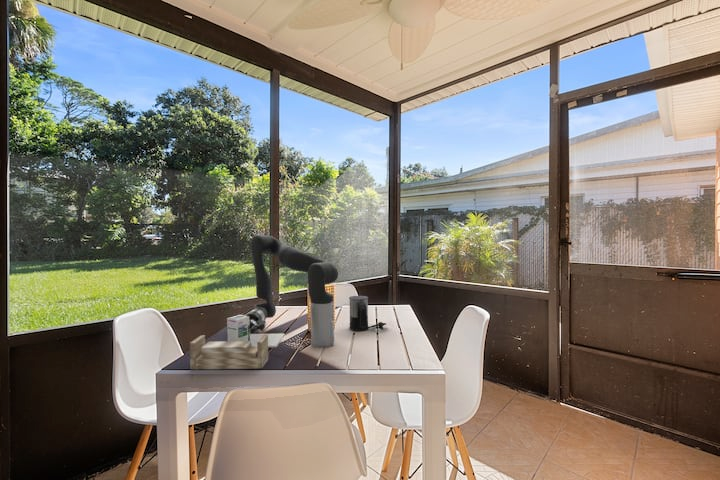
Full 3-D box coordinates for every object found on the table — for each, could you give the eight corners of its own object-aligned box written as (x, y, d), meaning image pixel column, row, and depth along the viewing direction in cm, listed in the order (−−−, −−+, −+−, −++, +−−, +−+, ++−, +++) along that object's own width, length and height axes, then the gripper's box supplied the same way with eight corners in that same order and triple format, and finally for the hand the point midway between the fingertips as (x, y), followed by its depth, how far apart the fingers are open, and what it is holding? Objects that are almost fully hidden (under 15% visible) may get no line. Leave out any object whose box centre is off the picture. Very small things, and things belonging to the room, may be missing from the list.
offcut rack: (268, 359, 121) (267, 334, 120) (262, 368, 113) (261, 342, 112) (201, 360, 120) (200, 335, 120) (190, 369, 112) (189, 342, 112)
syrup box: (237, 359, 121) (237, 319, 120) (227, 356, 124) (226, 317, 124) (250, 354, 126) (250, 315, 125) (240, 351, 129) (239, 313, 128)
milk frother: (345, 327, 159) (345, 296, 159) (372, 322, 168) (372, 293, 167) (361, 335, 147) (361, 302, 147) (390, 329, 156) (389, 297, 155)
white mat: (284, 334, 149) (284, 333, 149) (276, 347, 133) (276, 346, 133) (248, 335, 148) (248, 333, 148) (235, 348, 132) (235, 346, 132)
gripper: (236, 311, 143) (221, 321, 126) (270, 310, 143) (259, 321, 127) (237, 328, 143) (221, 341, 127) (270, 328, 143) (259, 340, 127)
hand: (240, 331), depth 127 cm, fingers open, 8 cm apart
